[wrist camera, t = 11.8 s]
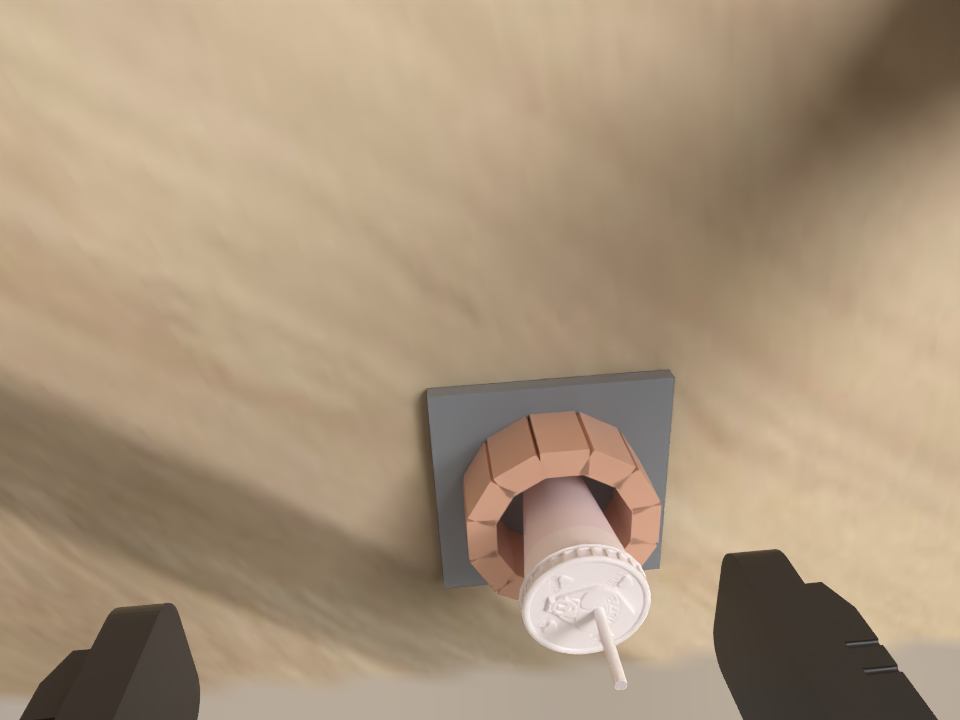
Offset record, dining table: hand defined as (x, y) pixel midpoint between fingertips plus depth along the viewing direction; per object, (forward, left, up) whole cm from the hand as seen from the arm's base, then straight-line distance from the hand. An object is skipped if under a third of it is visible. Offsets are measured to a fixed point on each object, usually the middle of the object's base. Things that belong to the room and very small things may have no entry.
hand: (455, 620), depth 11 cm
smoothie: (-6, +18, -27) cm, 33 cm away
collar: (-6, +18, -28) cm, 34 cm away
